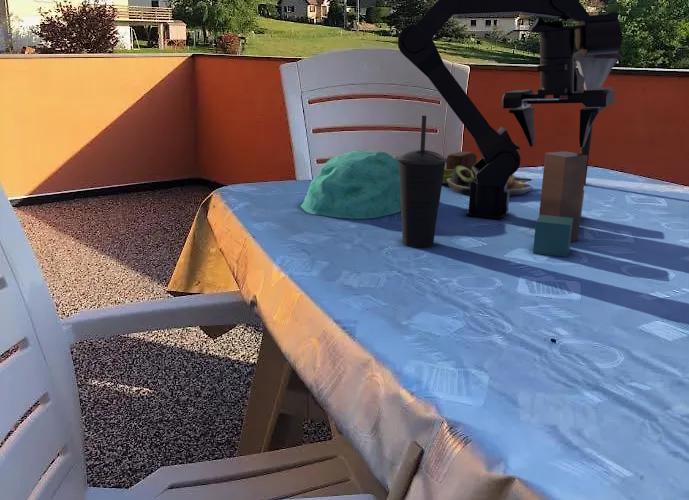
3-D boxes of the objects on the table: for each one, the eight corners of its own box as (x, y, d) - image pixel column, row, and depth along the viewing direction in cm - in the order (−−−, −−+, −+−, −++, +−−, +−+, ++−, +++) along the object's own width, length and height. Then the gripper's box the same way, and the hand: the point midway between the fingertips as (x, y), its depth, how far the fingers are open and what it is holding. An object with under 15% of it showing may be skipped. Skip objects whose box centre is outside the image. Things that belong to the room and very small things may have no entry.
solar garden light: (611, 182, 167) (628, 50, 159) (607, 191, 156) (624, 50, 148) (557, 177, 172) (571, 49, 163) (550, 185, 161) (564, 48, 153)
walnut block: (556, 243, 114) (566, 156, 110) (536, 236, 118) (545, 152, 114) (577, 240, 116) (587, 155, 112) (557, 233, 120) (566, 151, 116)
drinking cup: (410, 252, 107) (416, 119, 102) (384, 240, 114) (389, 114, 108) (451, 246, 111) (460, 117, 105) (424, 235, 117) (430, 112, 112)
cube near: (532, 253, 108) (535, 221, 107) (537, 245, 113) (540, 214, 111) (566, 257, 106) (570, 225, 105) (569, 248, 111) (573, 217, 110)
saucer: (429, 183, 159) (430, 174, 159) (431, 177, 168) (431, 168, 167) (468, 185, 158) (469, 176, 158) (468, 179, 166) (469, 170, 166)
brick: (460, 175, 172) (461, 156, 170) (445, 173, 174) (446, 154, 172) (476, 169, 180) (477, 151, 179) (461, 168, 182) (462, 149, 181)
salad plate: (514, 180, 167) (516, 160, 165) (552, 196, 150) (554, 174, 149) (437, 182, 162) (438, 162, 161) (467, 198, 146) (468, 176, 144)
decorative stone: (432, 195, 148) (435, 148, 145) (379, 223, 124) (381, 167, 121) (344, 185, 157) (345, 140, 154) (278, 209, 133) (278, 156, 130)
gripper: (625, 51, 125) (622, 140, 129) (524, 57, 135) (524, 139, 140) (606, 55, 116) (604, 150, 120) (499, 61, 127) (501, 148, 131)
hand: (556, 146), depth 128 cm, fingers open, 9 cm apart
